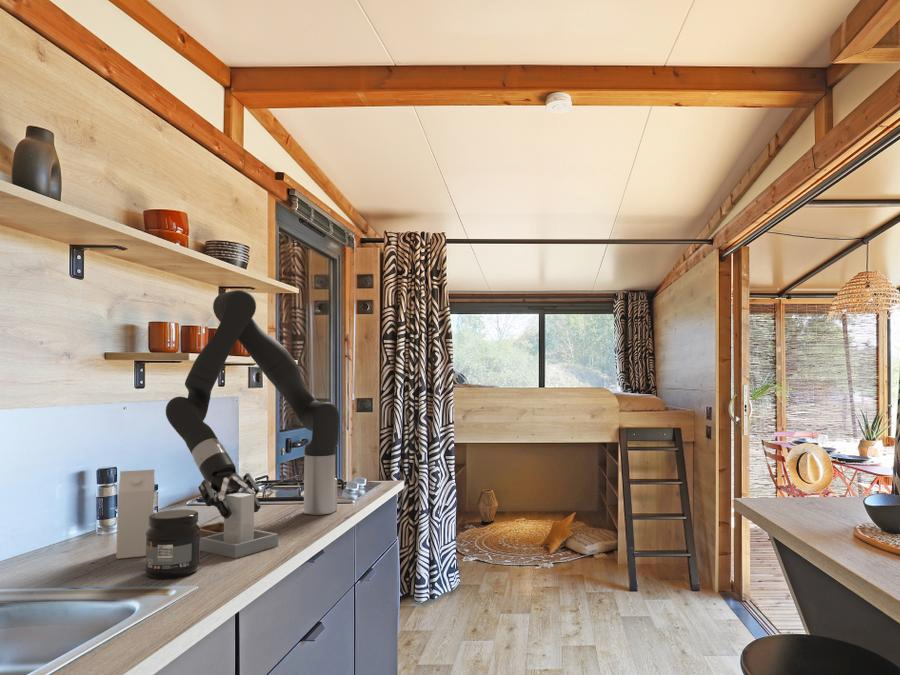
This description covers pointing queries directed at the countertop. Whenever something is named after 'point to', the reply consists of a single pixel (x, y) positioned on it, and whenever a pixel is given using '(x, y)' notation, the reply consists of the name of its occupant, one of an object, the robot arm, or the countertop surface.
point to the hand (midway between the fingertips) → (243, 513)
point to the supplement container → (172, 544)
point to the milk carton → (134, 512)
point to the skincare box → (239, 518)
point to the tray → (238, 550)
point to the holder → (211, 529)
